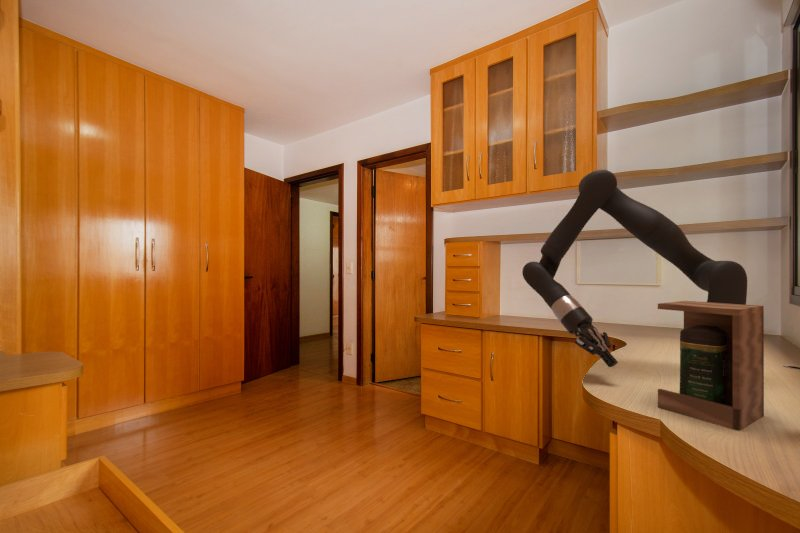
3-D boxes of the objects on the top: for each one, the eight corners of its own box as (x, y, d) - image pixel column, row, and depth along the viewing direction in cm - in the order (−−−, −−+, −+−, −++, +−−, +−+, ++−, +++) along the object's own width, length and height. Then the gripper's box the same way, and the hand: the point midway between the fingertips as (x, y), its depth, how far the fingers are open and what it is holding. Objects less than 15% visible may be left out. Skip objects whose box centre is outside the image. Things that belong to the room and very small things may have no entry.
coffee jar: (723, 421, 75) (722, 330, 76) (675, 410, 81) (675, 325, 81) (730, 409, 82) (730, 325, 82) (686, 399, 88) (685, 321, 88)
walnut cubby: (685, 396, 90) (685, 300, 90) (763, 415, 78) (763, 305, 78) (657, 407, 83) (657, 303, 83) (739, 430, 71) (739, 309, 71)
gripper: (565, 307, 103) (610, 360, 92) (592, 304, 110) (637, 353, 99) (548, 324, 107) (589, 376, 97) (576, 320, 114) (617, 369, 104)
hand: (613, 365), depth 98 cm, fingers closed
